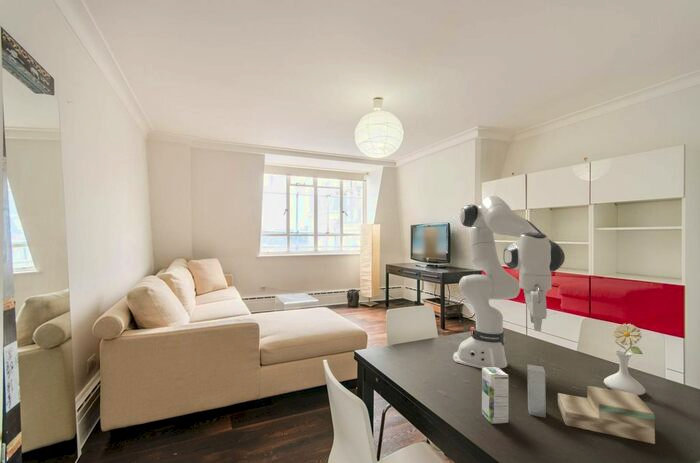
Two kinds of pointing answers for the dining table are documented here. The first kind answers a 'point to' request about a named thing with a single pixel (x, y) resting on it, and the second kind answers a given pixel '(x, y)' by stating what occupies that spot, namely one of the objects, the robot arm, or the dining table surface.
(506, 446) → the dining table surface
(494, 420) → the syrup box
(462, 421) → the dining table surface
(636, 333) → the flower in vase
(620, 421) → the step stand
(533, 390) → the grey column
